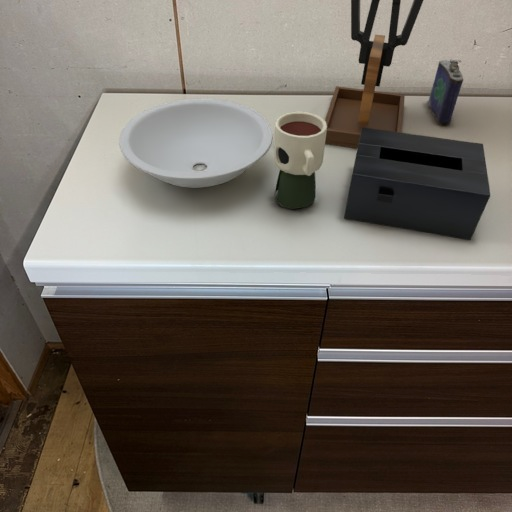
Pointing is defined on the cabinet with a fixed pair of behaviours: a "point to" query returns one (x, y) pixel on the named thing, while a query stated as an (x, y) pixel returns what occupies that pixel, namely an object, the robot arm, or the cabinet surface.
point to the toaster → (418, 183)
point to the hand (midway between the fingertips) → (371, 82)
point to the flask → (445, 91)
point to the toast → (371, 79)
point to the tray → (347, 114)
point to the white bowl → (196, 141)
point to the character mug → (298, 157)
